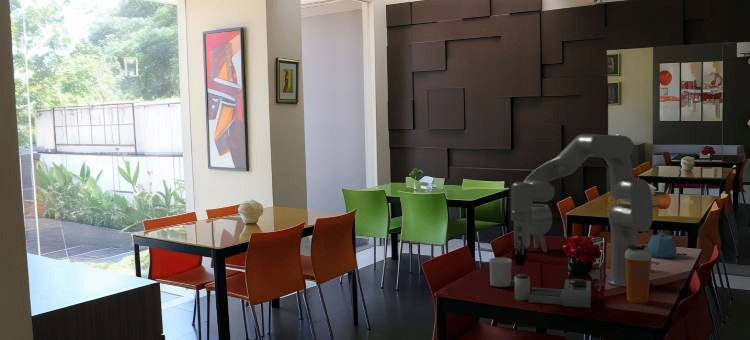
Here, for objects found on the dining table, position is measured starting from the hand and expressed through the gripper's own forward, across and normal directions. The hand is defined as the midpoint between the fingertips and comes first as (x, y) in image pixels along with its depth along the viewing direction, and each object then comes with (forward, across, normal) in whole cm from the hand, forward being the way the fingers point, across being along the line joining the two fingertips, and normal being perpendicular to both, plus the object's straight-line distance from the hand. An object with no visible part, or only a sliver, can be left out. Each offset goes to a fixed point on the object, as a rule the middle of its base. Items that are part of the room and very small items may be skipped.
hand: (521, 262), depth 241 cm
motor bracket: (+13, +3, -14) cm, 20 cm away
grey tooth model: (+13, +84, +2) cm, 85 cm away
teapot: (+12, +83, -54) cm, 100 cm away
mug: (+14, +17, +10) cm, 24 cm away
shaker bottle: (+13, +7, -40) cm, 43 cm away
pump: (+14, 0, 0) cm, 14 cm away
